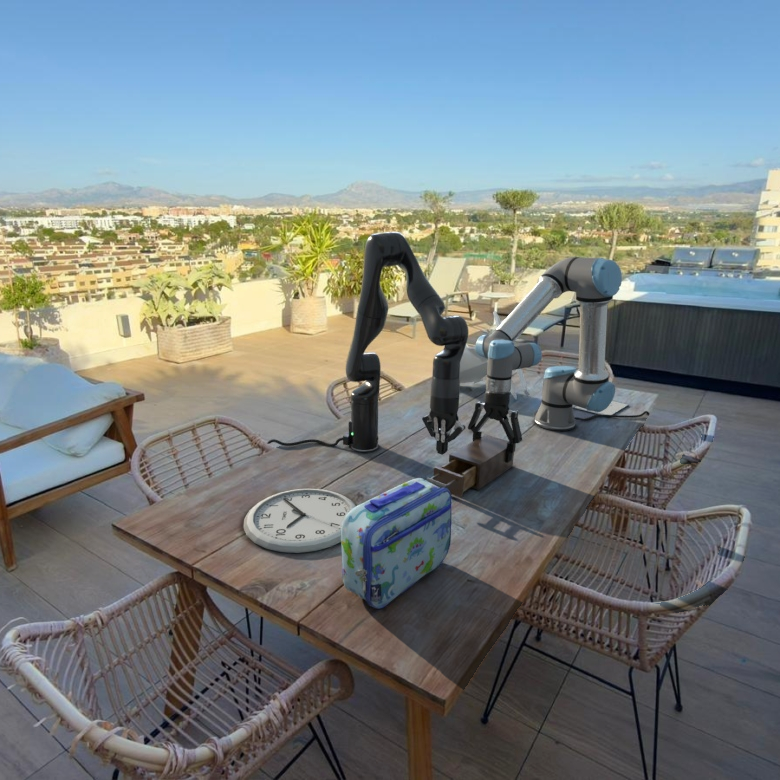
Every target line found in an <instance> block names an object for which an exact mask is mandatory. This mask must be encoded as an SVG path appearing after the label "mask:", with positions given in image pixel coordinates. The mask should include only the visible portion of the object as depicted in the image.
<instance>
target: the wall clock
mask: <svg viewBox="0 0 780 780" xmlns="http://www.w3.org/2000/svg"><path fill="white" fill-rule="evenodd" d="M356 506H357V504H356V503H355V502H354V501H353V500H351V499H350V498H348V497H347V496H345V495H344V494H341V493H338V492H335V491H332V490H327V489H322V488H299V489H298V488H297V489H291V490H286V491H281V492H278V493H275V494H273V495H269V496H268V497H266V498H264V499H262V500H260V501H259V502H257V503H256V504H255V505H253V506H252V508H250V509H249V510H248V511H247V513H246V515H245V517H244V519H243V530H244V532H245V535H246V537H247V538H248V539H249V540H251V542H252V543H254V545H255V544H256V545H257V546H260V547H262V548H264V549H266V550H270V551H274V552H280V553H294V554H295V553H296V554H300V553H310V552H317V551H320V550H324V549H328V548H331V547H333V546H335V545H337V544H339V543H340V544H341V528H342V523H343V520H344V518H345V517H346V515H347V514H348V512H349V511H350V510H351V509H353V508H354V507H356Z"/></svg>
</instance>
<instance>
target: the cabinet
mask: <svg viewBox="0 0 780 780" xmlns="http://www.w3.org/2000/svg"><path fill="white" fill-rule="evenodd" d="M508 442H509V440H506V439H502V438H499V437H496V436H492V435H490V434H489V435H488V434H484V435H481V437H480V438H478V439H476V440H475V441H473V440H472V441H471V442H469V443H467V444H466V445H464V446H462V447H460V448H458V449H457V450H454V451H453V452H451V453H449V454H448V462H450V461H452V460H453V459H456V460H459V461H462V462H465V463H468V464H471V465H474V466H477V479H476V484H474V485H473V486H471V487H470V488H472V489H473V490H477V491H480V490H481V489H482V488H484V487H485V486H487V485H489V484H490V483H491V482H492V481H494V480H496V479H497V478H498V477H499V476H501V475H502V474H504V473H505V472H507V471H508V470H510V469H512V467H514V457H515V456H514V455H515V452H514V453H512V460H511V461H510V462H508V463H506V451H507V443H508Z"/></svg>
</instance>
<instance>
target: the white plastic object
mask: <svg viewBox="0 0 780 780" xmlns="http://www.w3.org/2000/svg"><path fill="white" fill-rule="evenodd" d="M492 315H493V319H494V321H495V324H496V325H495V326H496V328H497V327H498V326H499V325H500V324H501V323H502V321H501V318H500V315H499V314H498V312H497V311H496V310H495V311H492ZM475 346H476V345H473V346H469V345H468V343H466V346H465V349H464V353H463V356H462V358H461V361H460V375H459V381H460V384H467V383H468V384H469V383H473V384H477V383H480V382H482V381H484V378H485V377H487V364H488V359H487V358H484V357H482V356H480V355H479V354H478V353H477V352H476V348H475ZM516 372H517V376H518V380H519V382H520V385H521V389H522V391H523V393H524V395H525V396H526V397H528V396H531V395H530V390H529V388H528V387H529V386H528V384H527V381H526V378H525V375H524V371H523V368H521V369H516ZM516 391H517V390H516V388H515V385H514V381H513V377H512V378H511V390H510V391H509V392H510V395H512V397H513V398H514V399H515V400H517V392H516Z"/></svg>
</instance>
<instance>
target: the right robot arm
mask: <svg viewBox="0 0 780 780" xmlns="http://www.w3.org/2000/svg"><path fill="white" fill-rule="evenodd" d="M536 283H537V284H536V285H535V286H534V287H533V288H532V289H531V290H530V291H529V292H528V294H527V295H526V296H525V297H523V299H522V300H521V301H520V302H519V303H518V304H517V306H515V308H514V309H513V310H512V311H511V312H510V313H509V314H508V315H507V316H506V317H505V318H504V319H503V321H501V324H500V325H499V326H498V327H497V326H496V328H495V329H494V330H493V332H491V333H490V334H483V335H480V336H479V337H478V338H477V340H476V342H475V345H474V346H475V348H476V352H477V353H478V354H479V355H480V356H482V357H484V358H487V359H488V364H487V375H486V379H485V389H486V390H485V393H484V402H482V401H478V402H476V403H475V406H474V411H473V414H472V416H471V417H470V420H469V423H468V425H467V429H468V430H469V431H471V432H472V442H473V441H475V440H476V439H478V438H480V437H482V431H481V429H482V428H483V427H484V425H485V424H486V423H487V421H488V420H489V419H491V420H495V421H498V422H499V424H500V425H501V426H502V429H503V430H504V433H505V435H506V437H507V439H508V440H507V441H509V442H508V443H507V451H506V463H508V462H510V461H511V460H512V453H514V454H515V451H516V446H517V444H519V443H521V442H522V441H523V436H522V431H521V427H520V421H519V411H518V409H516V410H512V409H510V407H509V406H510V399H511V392H510V390H511V378H512V379H513V371H517V369H521V368H522V369H526V368H528V369H529V368H532V367H534V366H537V365H538V364H540V363H541V360H542V357H543V352H542V349H541V347H540V345H538V343H535V342H525V343H522V342H519V341H517V340H518V339H519V337H520V336H521V335H522V334H523V333H524V332H525V331H526V330H527V329H528V328H529V327H530V325H531V324H532V323H533V322H534V321H535V320H536V319H537V318H538V317H539V316H540V314H541V313H542V312H543V311H544V310H545V309H547V307H548V306H549V305H550V304H551V302H552V301H553V300H554V299H559V298H560V297H561V295H563V294H564V293H567V292H574V293H575V301H576V302H577V303H578V304H579V305H580V307H579V308H580V309H579V310H580V312H579V341H578V342H579V345H578V368H577V367H575V366H571V365H570V366H569V365H557V366H556V365H555V366H550V367H547V368H546V369H545V371H544V375H543V378H542V379H543V381H542V394H541V402H540V405H539V407H538V410H537V411H534V412H533V416H534V424H535V425H536V426H537V427H539V428H542V429H544V430H549V431H556V432H567V431H572V430H574V429H575V428H576V420H577V421H584V422H585V421H590V420H592V419H595V418H599V417H600V418H602V417H604V418H621V419H623V418H624V419H625V418H626V419H627V418H628V419H629V418H630V419H631V418H640V417H643V416H644V415H650V412H649V411H648V410H645V411H643V412H641V413H640V414H635V415H634V414H633V415H628V414H627V415H625V414H624V415H622V414H621V415H619V414H616V415H615V414H613V415H600V414H594V415H591V416H589V417H586V418H584V417H577V416H575V413H574V407H576V406H578V407H581V408H584V409H587V410H589V411H594V412H601V411H603V410H605V409H606V408H607V407H608V406H609V405H610V403H611V402H612V401H614V397H615V394H616V386H615V384H614V383H613V382H611V381H610V380H609V378H610V375H609V372H608V371H607V370H606V367H605V365H606V364H605V363H606V345H607V343H606V342H607V326H608V325H607V324H608V304H609V303H610V302H611V301H613V300H614V296H616V294H618V293H619V291H620V287H621V286H622V283H623V274H622V270H621V267H620V265H619V264H618V263H617V262H616V261H614V260H613V259H607V258H603V257H584V256H583V257H581V256H571V257H570V256H569V257H566V258H563V259H561V260H559V261H557V262H556V263H554V264H552V266H550V267H549V268H548V269H546V270H545V271H544V272H543V273H542V274H541V275H540V276H539V277H538V279H537V281H536ZM573 406H574V407H573ZM483 409H484V411H485V413H484V415H482V417H481V419H480V420H479V418H480V416H481V413H482V410H483ZM508 415H509V417H508ZM509 418H510V419H509ZM478 420H479V421H478Z"/></svg>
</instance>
